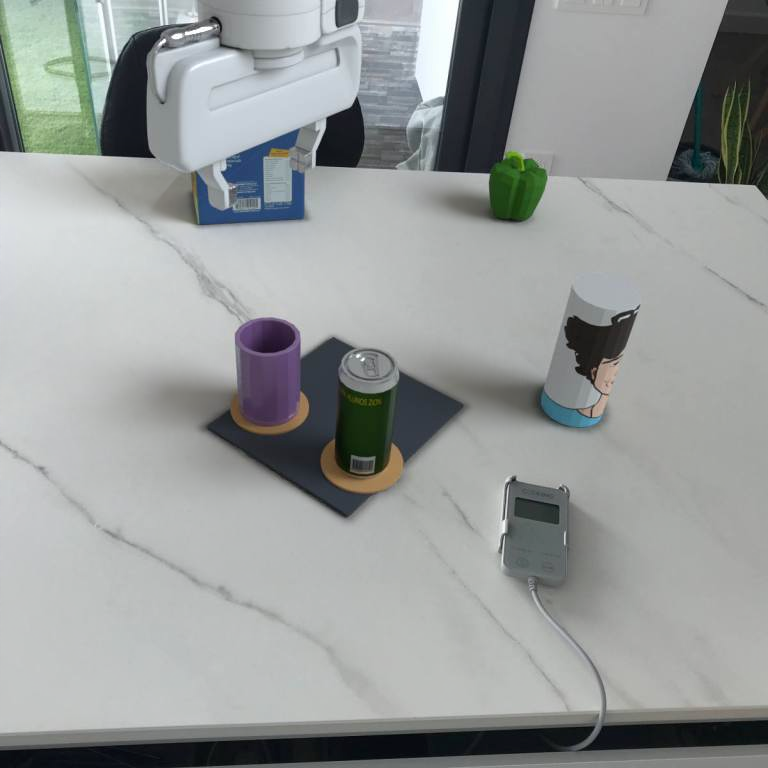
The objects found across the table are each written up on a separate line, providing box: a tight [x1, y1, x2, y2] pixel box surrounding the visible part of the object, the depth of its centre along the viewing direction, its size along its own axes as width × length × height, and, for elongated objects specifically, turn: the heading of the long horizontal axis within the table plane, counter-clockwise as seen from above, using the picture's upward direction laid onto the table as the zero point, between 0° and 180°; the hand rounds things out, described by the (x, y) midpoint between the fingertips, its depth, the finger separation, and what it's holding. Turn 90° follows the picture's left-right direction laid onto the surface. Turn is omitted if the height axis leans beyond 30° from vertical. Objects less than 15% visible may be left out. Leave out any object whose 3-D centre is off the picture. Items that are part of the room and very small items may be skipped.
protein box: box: [190, 128, 306, 225], centre depth 109 cm, size 10×15×16 cm
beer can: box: [334, 346, 400, 480], centre depth 71 cm, size 5×5×12 cm
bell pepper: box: [488, 150, 548, 222], centre depth 115 cm, size 8×8×10 cm
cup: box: [540, 271, 644, 428], centre depth 80 cm, size 7×7×15 cm
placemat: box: [206, 336, 465, 518], centre depth 80 cm, size 20×20×1 cm
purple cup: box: [234, 316, 302, 427], centre depth 77 cm, size 6×6×9 cm
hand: (264, 186), depth 64 cm, fingers open, 8 cm apart
